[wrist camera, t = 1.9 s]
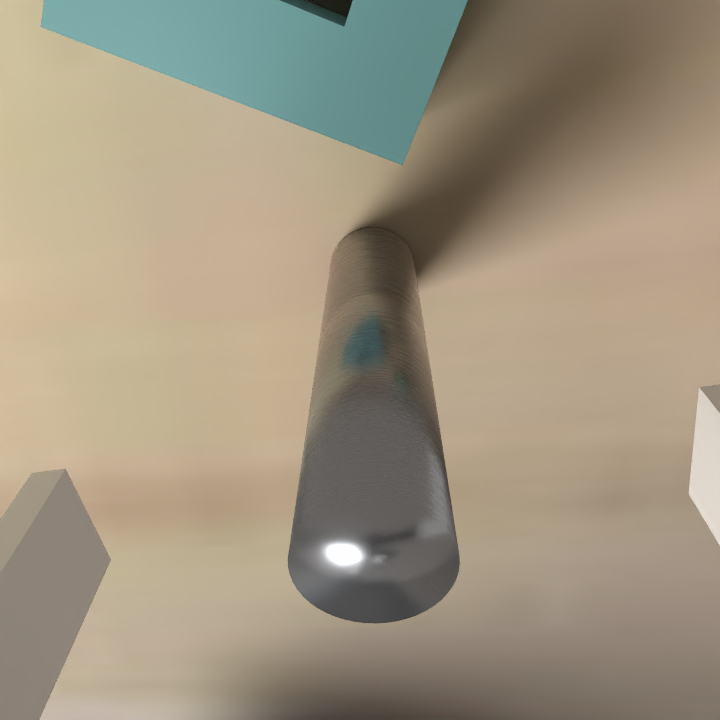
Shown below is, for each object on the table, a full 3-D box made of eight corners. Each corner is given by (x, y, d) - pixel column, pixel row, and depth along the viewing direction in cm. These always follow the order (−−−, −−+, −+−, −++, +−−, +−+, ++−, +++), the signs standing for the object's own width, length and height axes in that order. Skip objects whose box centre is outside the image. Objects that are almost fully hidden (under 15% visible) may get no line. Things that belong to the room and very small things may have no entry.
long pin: (395, 316, 27) (419, 639, 13) (319, 290, 26) (266, 599, 13) (427, 244, 25) (488, 528, 12) (346, 215, 25) (319, 478, 11)
